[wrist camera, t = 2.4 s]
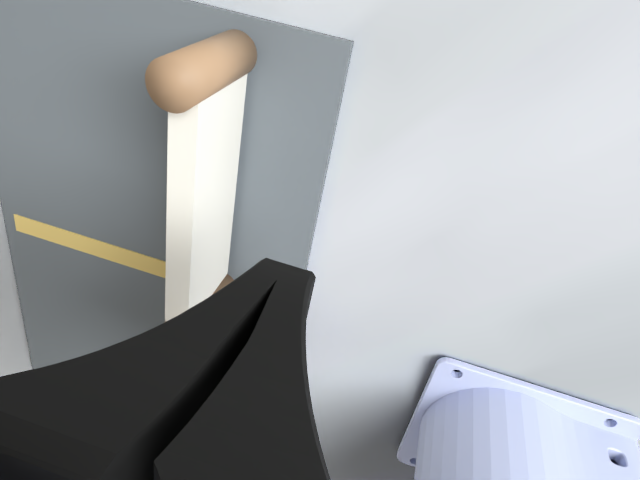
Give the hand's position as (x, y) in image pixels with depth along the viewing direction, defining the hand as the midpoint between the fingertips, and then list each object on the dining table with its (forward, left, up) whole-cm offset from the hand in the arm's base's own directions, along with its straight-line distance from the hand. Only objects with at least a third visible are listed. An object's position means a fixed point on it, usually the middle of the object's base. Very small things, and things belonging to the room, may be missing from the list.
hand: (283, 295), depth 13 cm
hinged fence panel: (+5, +1, -8) cm, 10 cm away
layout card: (+9, +8, -9) cm, 15 cm away
